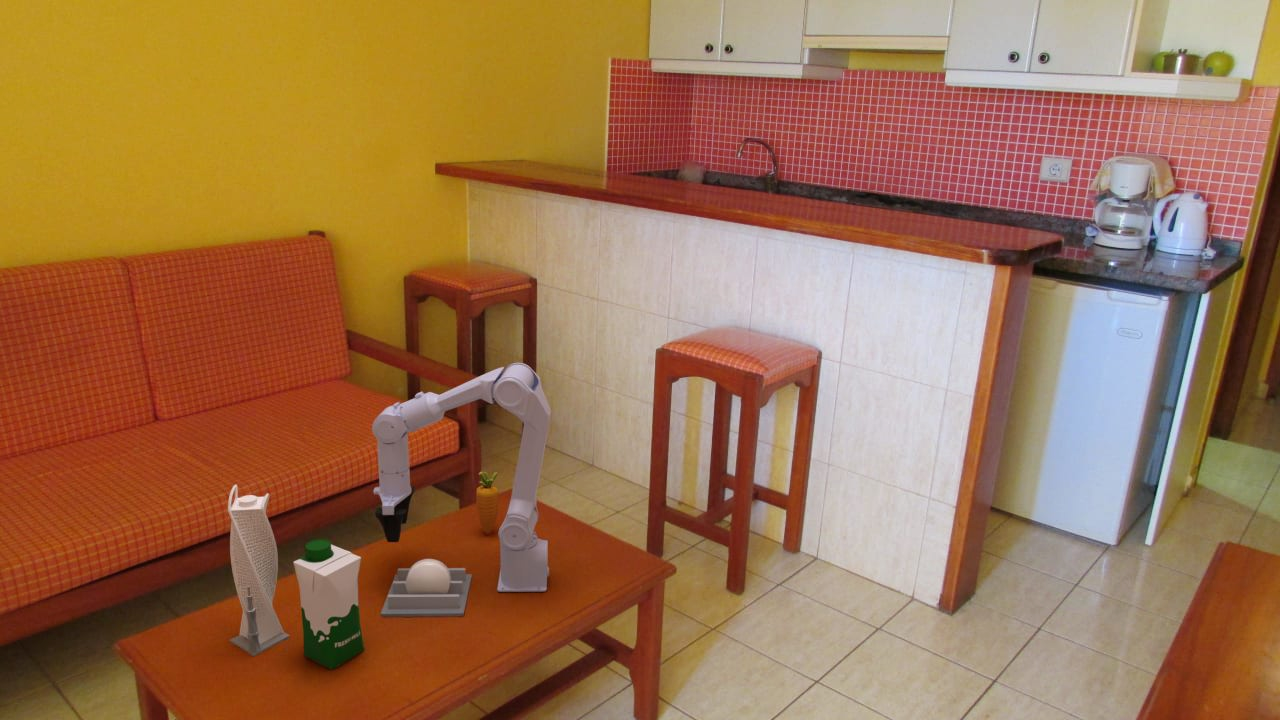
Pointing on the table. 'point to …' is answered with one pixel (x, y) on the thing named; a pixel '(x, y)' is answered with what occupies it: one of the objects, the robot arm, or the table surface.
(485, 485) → the carrot
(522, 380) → the robot arm
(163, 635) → the table surface
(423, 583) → the cream round puck
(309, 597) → the milk carton
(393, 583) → the dish rack
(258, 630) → the skyscraper
